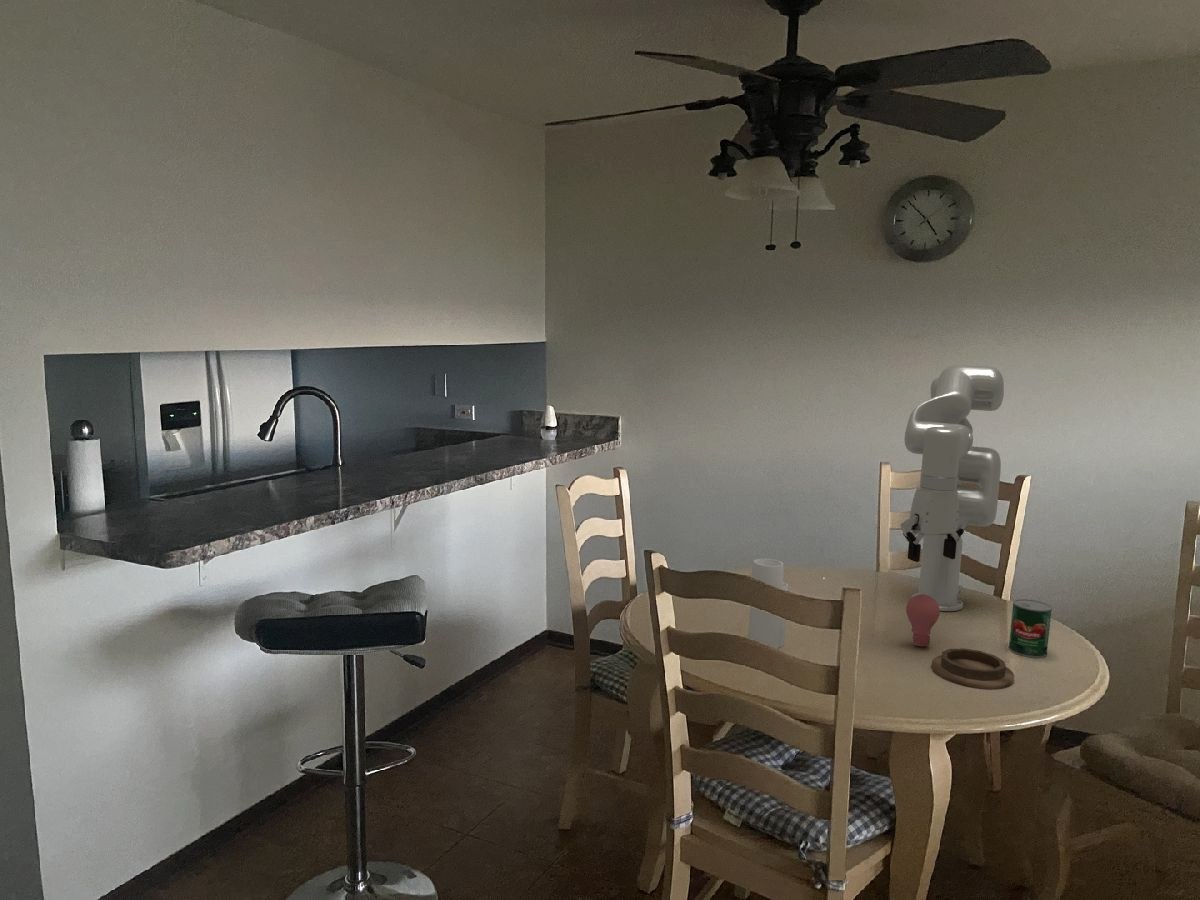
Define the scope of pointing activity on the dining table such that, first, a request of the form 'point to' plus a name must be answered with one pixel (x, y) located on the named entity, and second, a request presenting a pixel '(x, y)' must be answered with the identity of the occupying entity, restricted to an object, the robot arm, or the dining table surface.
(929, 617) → the light bulb
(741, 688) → the dining table surface
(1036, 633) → the canned tomato
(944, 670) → the holder
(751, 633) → the vase
